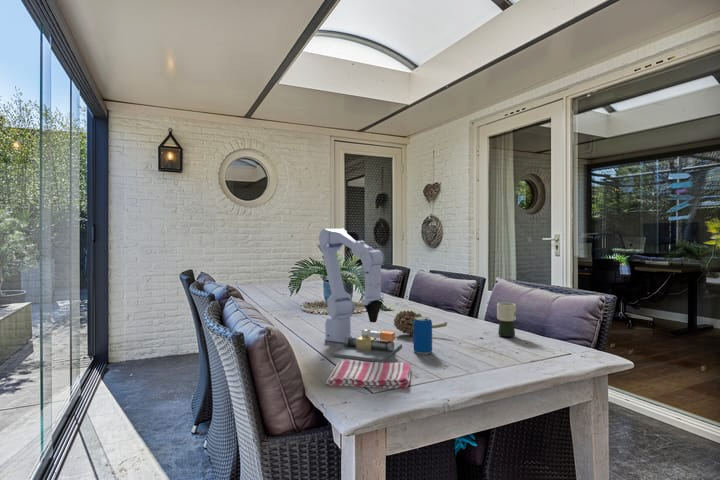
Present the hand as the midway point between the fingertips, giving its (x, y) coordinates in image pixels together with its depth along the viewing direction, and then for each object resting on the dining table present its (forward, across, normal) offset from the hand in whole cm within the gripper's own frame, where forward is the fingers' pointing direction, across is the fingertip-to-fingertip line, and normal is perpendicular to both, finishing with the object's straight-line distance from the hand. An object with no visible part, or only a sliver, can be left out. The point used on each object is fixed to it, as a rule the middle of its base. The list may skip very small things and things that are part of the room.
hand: (373, 321), depth 148 cm
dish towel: (+11, -24, -10) cm, 28 cm away
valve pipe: (+10, -2, +1) cm, 10 cm away
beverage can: (+10, +5, -17) cm, 20 cm away
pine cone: (+10, +27, -9) cm, 30 cm away
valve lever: (+5, -2, -3) cm, 6 cm away
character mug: (+10, +39, -40) cm, 57 cm away
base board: (+10, -2, +1) cm, 10 cm away
